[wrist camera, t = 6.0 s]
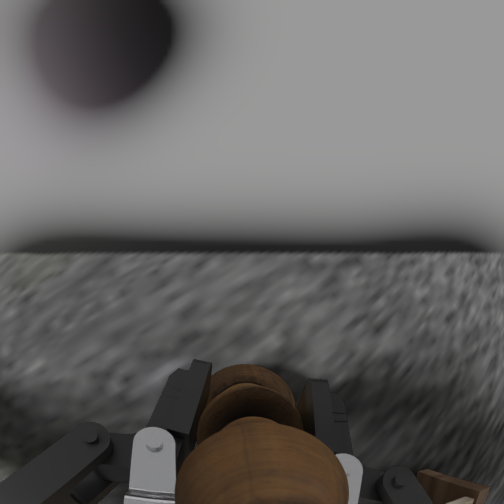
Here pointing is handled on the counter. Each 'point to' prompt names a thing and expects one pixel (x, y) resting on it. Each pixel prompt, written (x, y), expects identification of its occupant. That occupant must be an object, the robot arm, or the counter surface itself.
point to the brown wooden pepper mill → (257, 447)
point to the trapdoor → (462, 501)
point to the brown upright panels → (450, 488)
